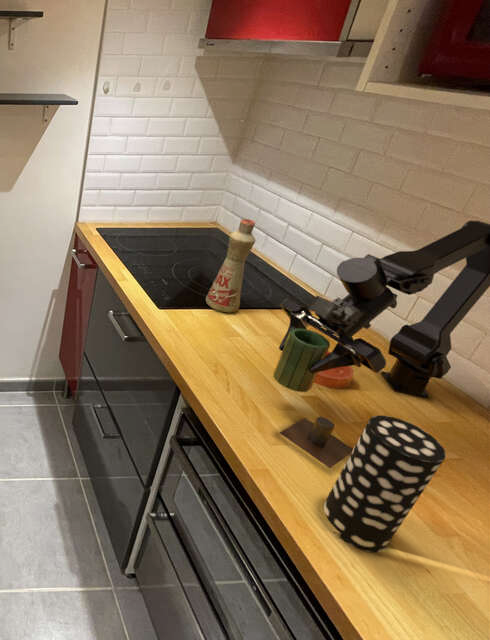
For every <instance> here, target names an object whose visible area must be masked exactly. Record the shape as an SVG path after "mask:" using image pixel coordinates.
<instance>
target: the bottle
mask: <svg viewBox="0 0 490 640" xmlns="http://www.w3.org/2000/svg"><path fill="white" fill-rule="evenodd" d="M255 226H256V223H255V221H254V220H252V219H250V218H242V219H241V220H240V223H239V226H238V229H237V230H236V231H233V232H232V233H230V234H229V239H228V246H227V253H226V257H225V259H224V261H223V263H222V265H221V266H220V269H219V271H218V273H217V275H216V277H215V279H214V281H213V282H212V284H211V287H210V288H209V290H208V293H207V294H206V297H205V302H206V304H207V305H208V306H209V307H210V308H212V309H213V310H216V311H217V312H221V313H222V312H223V313H226V314H228V313H229V314H230V313H233V314H234V313H235V312H237V311H238V310H239V308H240V304H241V293H242V286H243V278H244V271H245V265H246V264H245V263H246V261H247V258H248V256H249V255H250V252H251V250H252V248H253V246H254V245H255V244H256V241H257V240H256V238H255V236H254V235H253V233H252V232H253V231H254V228H255Z"/></svg>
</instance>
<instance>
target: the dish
mask: <svg viewBox="0 0 490 640" xmlns="http://www.w3.org/2000/svg"><path fill="white" fill-rule="evenodd" d="M331 352H332V351H330V350H328V351H327V353H326V356H327V355H328V354H329V353H331ZM354 373H355V370H354V369H353V366H345V367H338V368H332V369H329V370H325V371H321V372H318V374H317V376H316V378H315V381H314V383H313V384H316V385H318V386H322V387H326V388H330V389H331V388H332V389H342V388H343V389H345V388H347V387H349V385H350V383H351V381H352V379H353V377H354Z"/></svg>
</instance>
